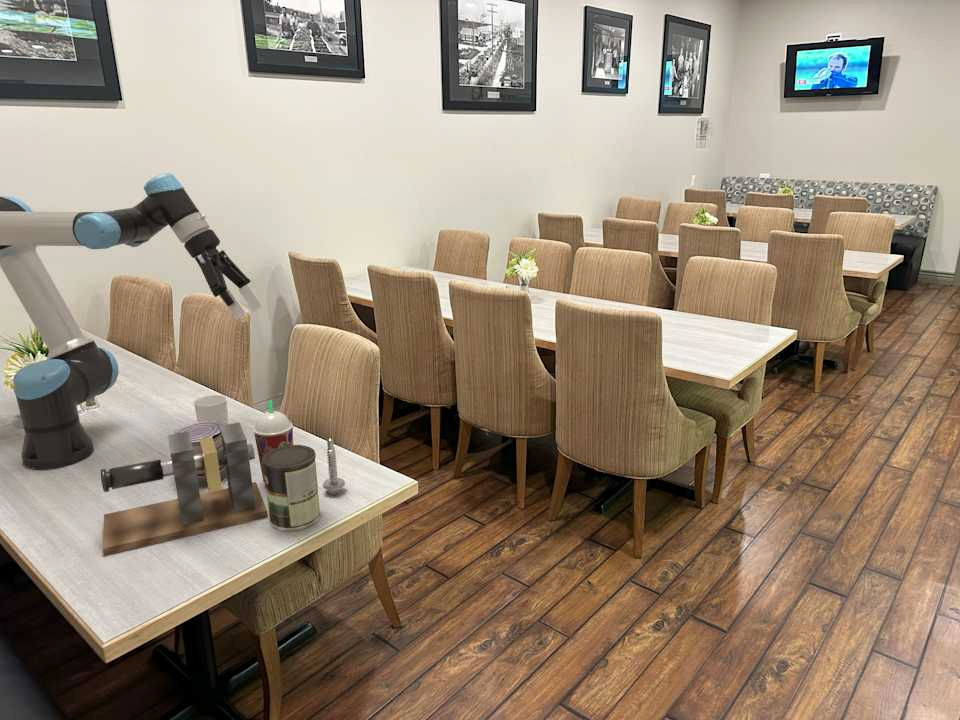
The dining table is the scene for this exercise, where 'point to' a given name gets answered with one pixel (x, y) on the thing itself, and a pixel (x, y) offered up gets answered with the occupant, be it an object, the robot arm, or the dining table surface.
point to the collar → (211, 464)
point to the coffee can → (291, 487)
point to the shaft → (153, 470)
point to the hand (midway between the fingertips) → (250, 312)
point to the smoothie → (272, 433)
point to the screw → (332, 471)
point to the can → (196, 433)
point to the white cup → (212, 409)
